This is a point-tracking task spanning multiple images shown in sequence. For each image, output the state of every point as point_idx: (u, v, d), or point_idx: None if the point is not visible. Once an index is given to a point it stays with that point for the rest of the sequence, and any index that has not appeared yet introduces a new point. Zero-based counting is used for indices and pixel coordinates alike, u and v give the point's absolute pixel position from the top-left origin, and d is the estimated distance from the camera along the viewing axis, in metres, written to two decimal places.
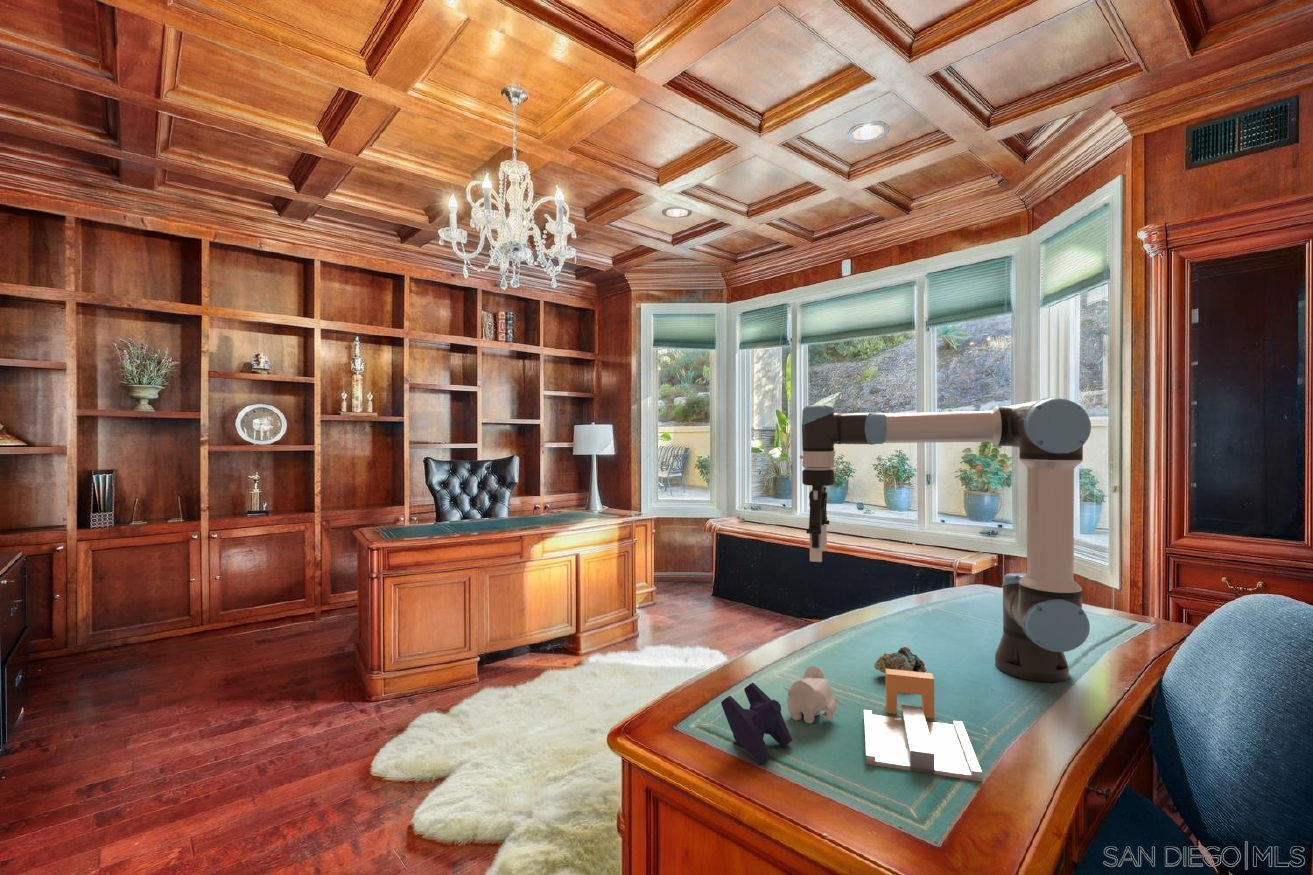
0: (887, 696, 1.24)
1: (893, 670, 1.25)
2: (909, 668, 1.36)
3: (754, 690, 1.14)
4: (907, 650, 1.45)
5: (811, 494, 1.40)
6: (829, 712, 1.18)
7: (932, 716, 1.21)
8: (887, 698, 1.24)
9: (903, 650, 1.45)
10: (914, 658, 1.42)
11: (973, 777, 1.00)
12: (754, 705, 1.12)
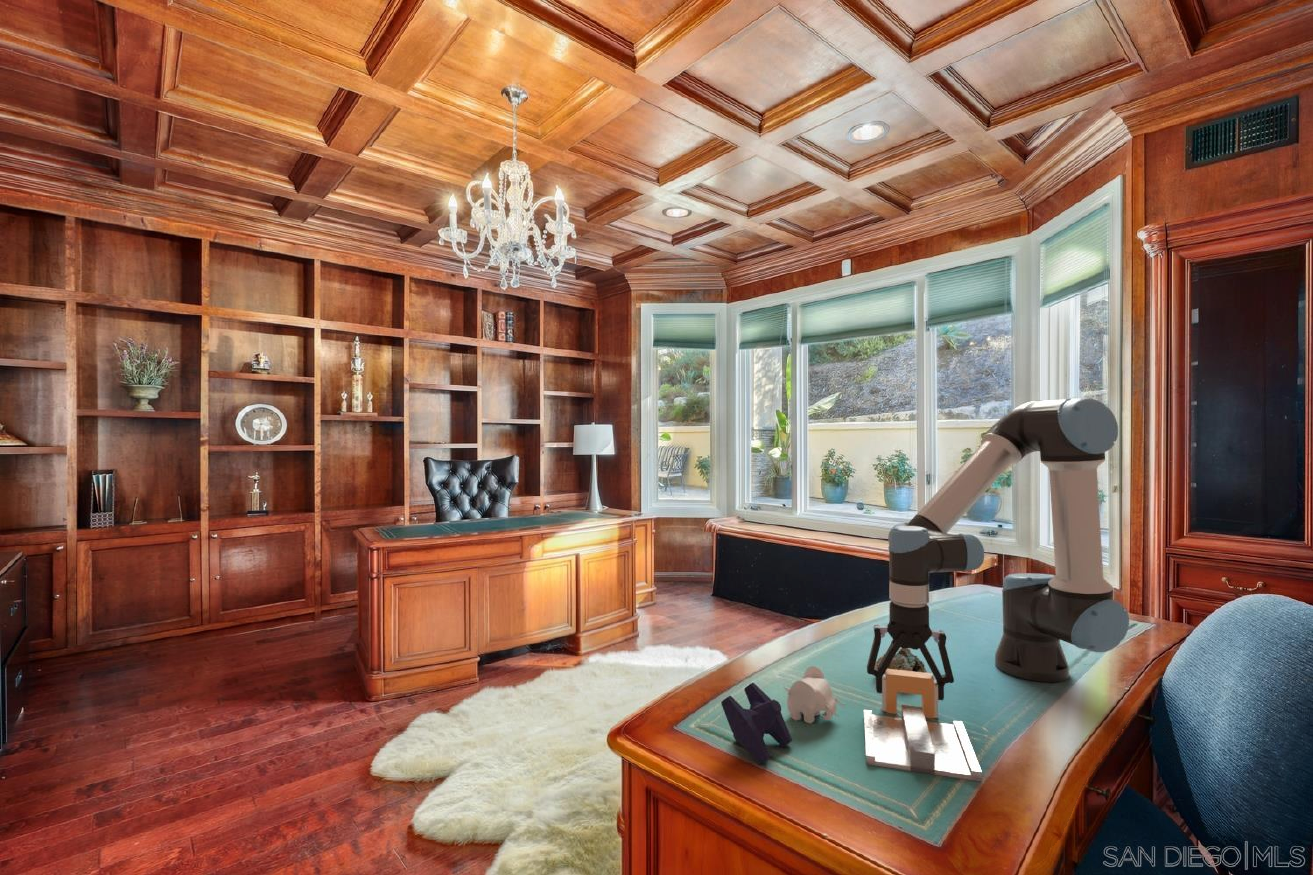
0: (887, 696, 1.24)
1: (893, 670, 1.25)
2: (908, 669, 1.36)
3: (754, 689, 1.14)
4: (907, 651, 1.45)
5: None
6: (829, 712, 1.18)
7: (932, 716, 1.21)
8: (887, 698, 1.24)
9: (903, 651, 1.44)
10: (914, 659, 1.41)
11: (973, 777, 1.00)
12: (754, 705, 1.12)
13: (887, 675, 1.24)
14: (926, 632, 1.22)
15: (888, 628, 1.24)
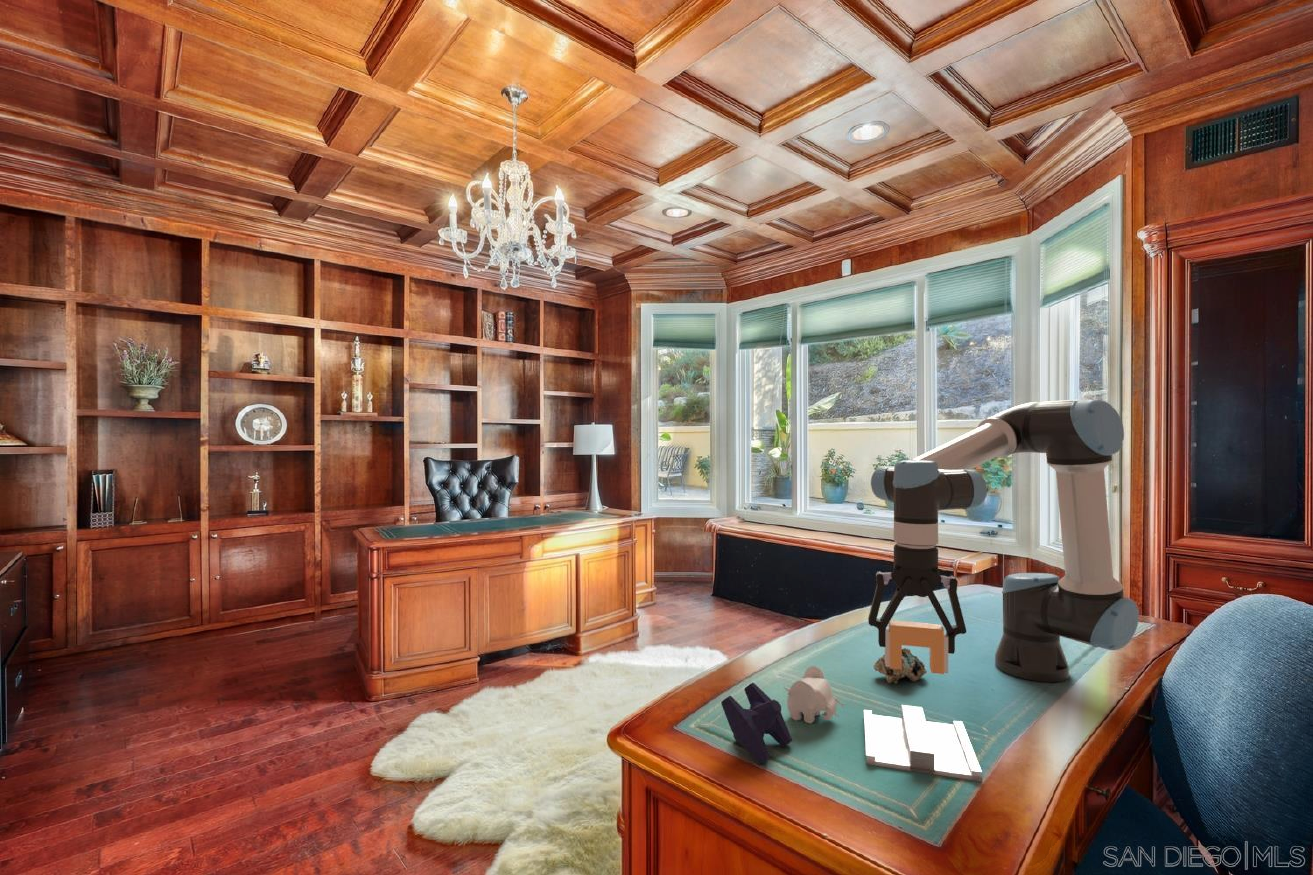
0: (891, 650, 1.10)
1: (898, 622, 1.12)
2: (908, 669, 1.35)
3: (754, 689, 1.14)
4: (907, 651, 1.44)
5: None
6: (829, 712, 1.18)
7: (941, 671, 1.08)
8: (891, 652, 1.10)
9: (903, 651, 1.44)
10: (914, 659, 1.41)
11: (973, 777, 1.00)
12: (754, 705, 1.12)
13: (891, 626, 1.10)
14: (935, 577, 1.08)
15: (892, 574, 1.11)
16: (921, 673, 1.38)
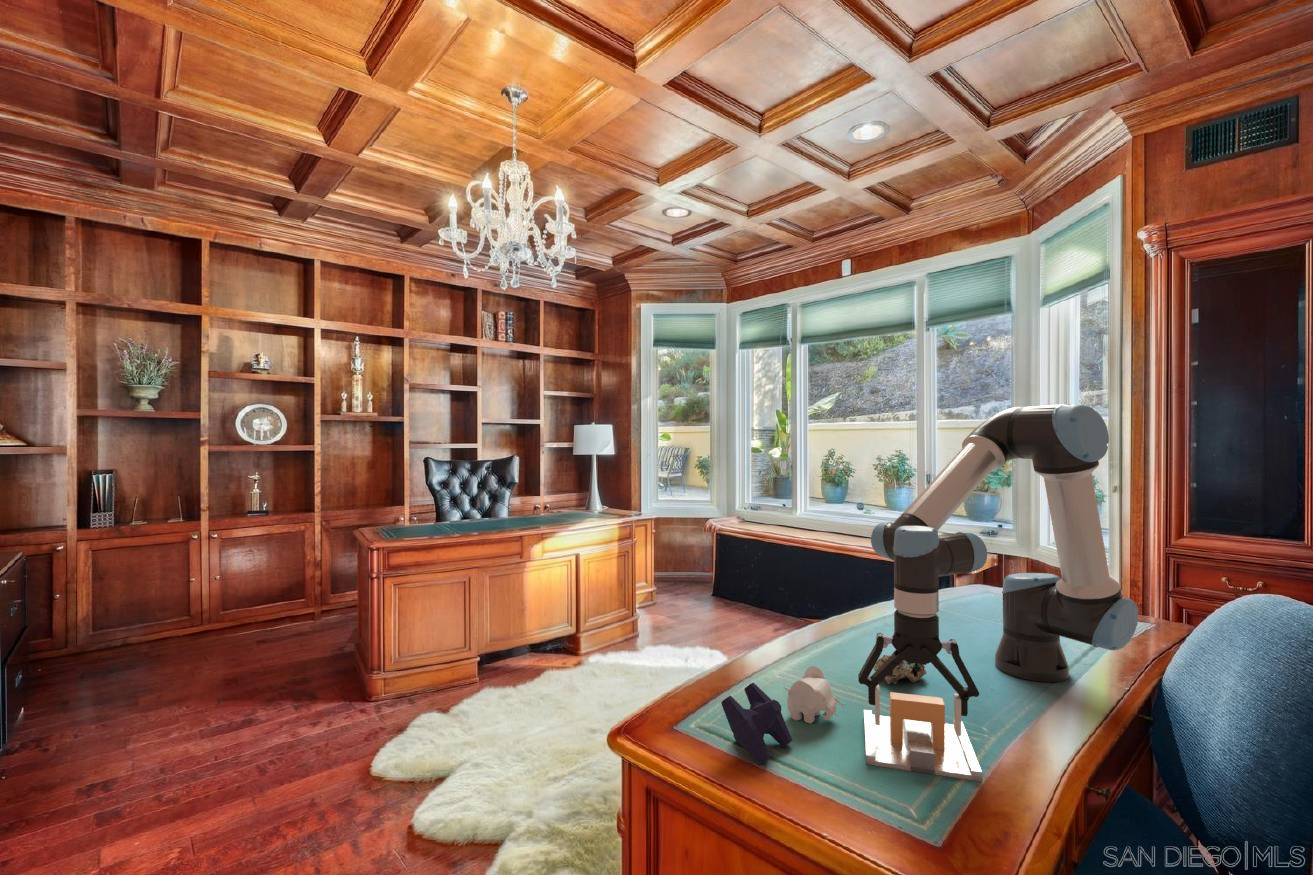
0: (892, 724, 1.10)
1: (898, 694, 1.12)
2: (907, 670, 1.35)
3: (754, 689, 1.14)
4: None
5: (876, 637, 1.13)
6: (829, 712, 1.18)
7: (942, 746, 1.08)
8: (892, 726, 1.10)
9: None
10: None
11: (973, 777, 1.00)
12: (754, 705, 1.12)
13: (892, 700, 1.10)
14: (936, 645, 1.08)
15: (893, 640, 1.11)
16: (921, 674, 1.38)
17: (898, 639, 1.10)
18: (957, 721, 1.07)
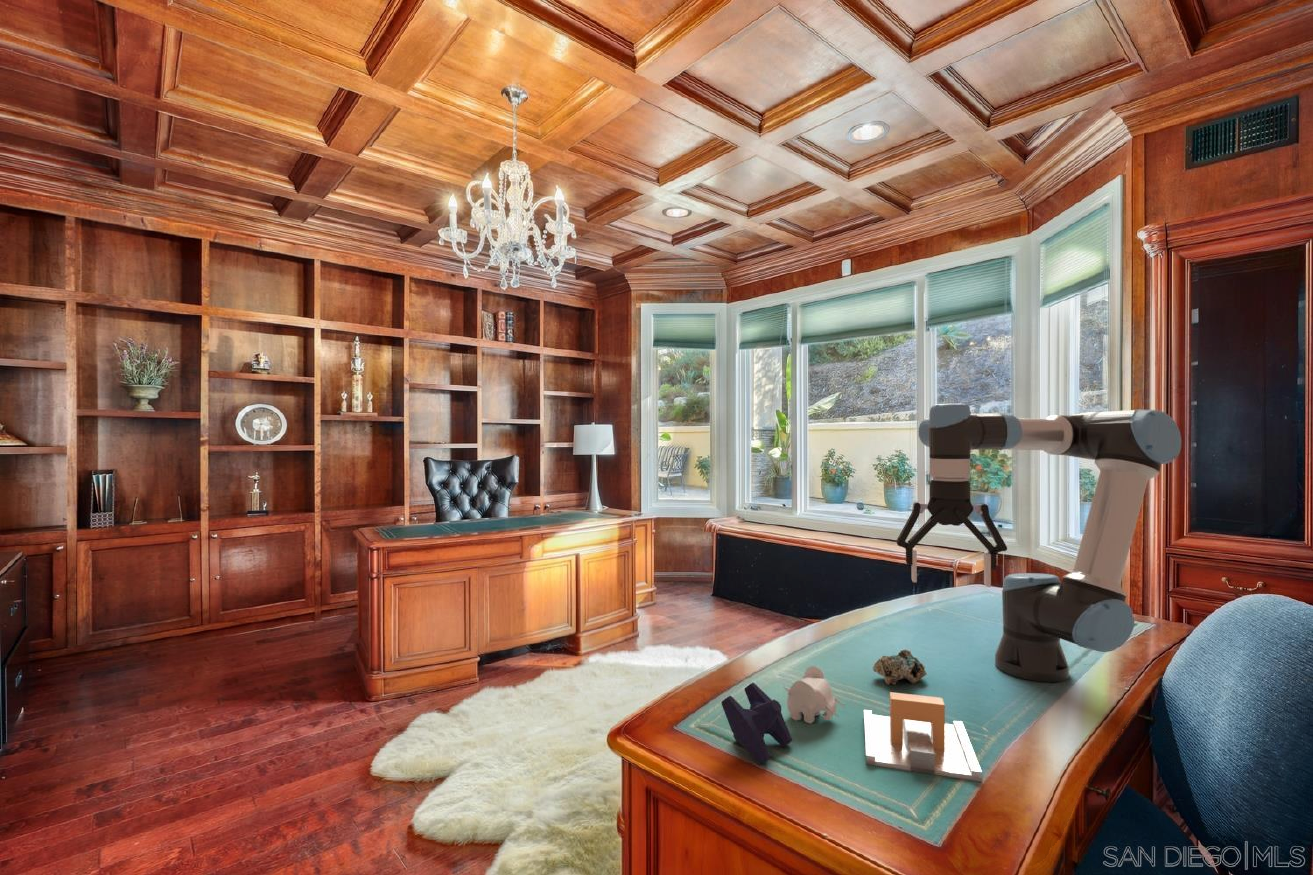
0: (892, 724, 1.10)
1: (898, 694, 1.12)
2: (907, 671, 1.34)
3: (754, 689, 1.14)
4: (908, 653, 1.43)
5: (913, 505, 1.26)
6: (829, 712, 1.18)
7: (942, 746, 1.08)
8: (892, 726, 1.10)
9: (903, 653, 1.43)
10: (914, 661, 1.40)
11: (973, 777, 1.00)
12: (754, 705, 1.12)
13: (892, 700, 1.10)
14: (967, 507, 1.21)
15: (928, 506, 1.23)
16: (921, 675, 1.37)
17: (933, 504, 1.23)
18: (987, 574, 1.20)
